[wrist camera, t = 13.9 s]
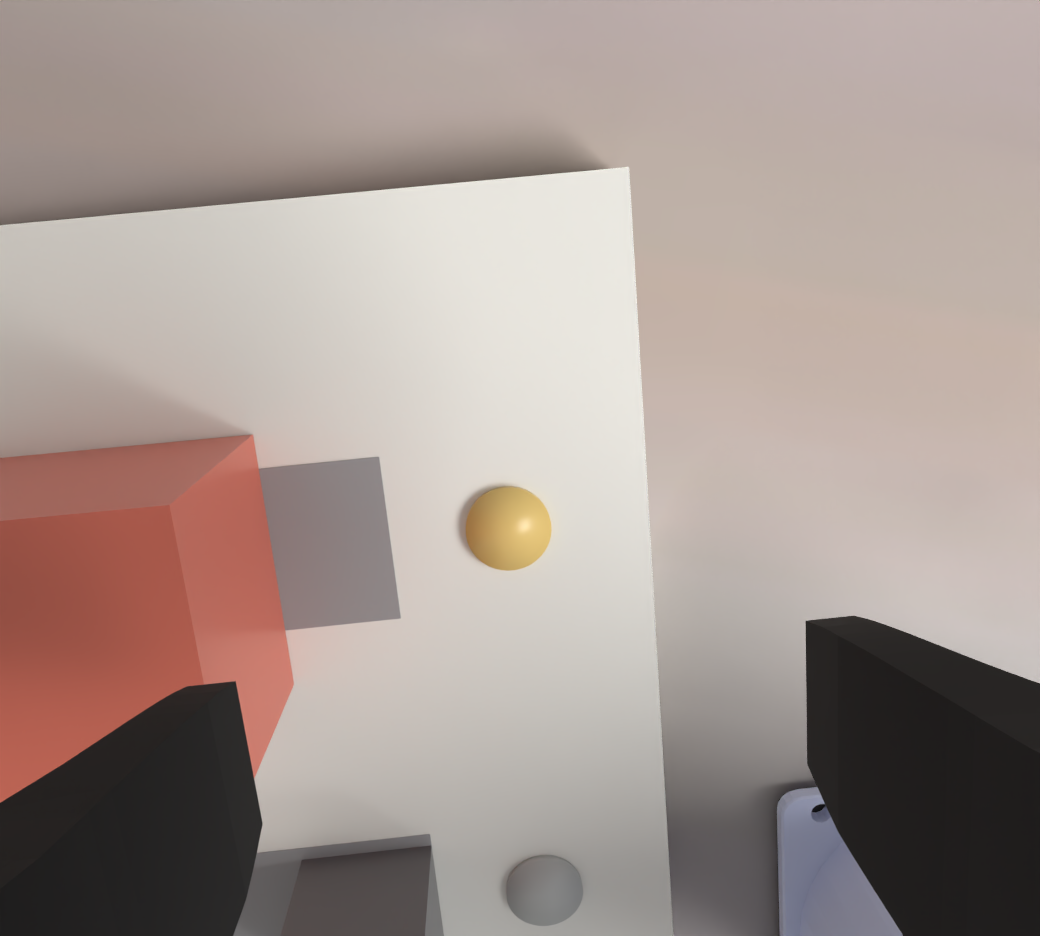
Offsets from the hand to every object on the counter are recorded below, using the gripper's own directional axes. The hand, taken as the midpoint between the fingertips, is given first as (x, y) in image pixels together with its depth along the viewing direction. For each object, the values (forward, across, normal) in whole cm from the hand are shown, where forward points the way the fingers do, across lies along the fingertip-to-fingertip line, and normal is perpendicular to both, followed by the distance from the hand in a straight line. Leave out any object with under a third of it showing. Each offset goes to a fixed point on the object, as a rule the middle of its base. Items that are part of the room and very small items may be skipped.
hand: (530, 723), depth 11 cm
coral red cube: (+8, +8, 0) cm, 11 cm away
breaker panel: (+9, +4, +3) cm, 11 cm away
